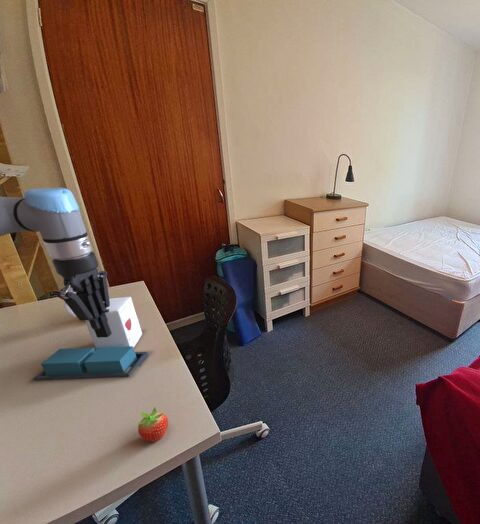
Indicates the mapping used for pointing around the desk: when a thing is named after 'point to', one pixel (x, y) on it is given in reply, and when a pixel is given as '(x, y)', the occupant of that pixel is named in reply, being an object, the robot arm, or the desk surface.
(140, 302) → the desk surface
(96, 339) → the rectangular carton
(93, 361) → the loose blue pad
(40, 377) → the backing tray
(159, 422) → the fruit
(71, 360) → the seated pad
